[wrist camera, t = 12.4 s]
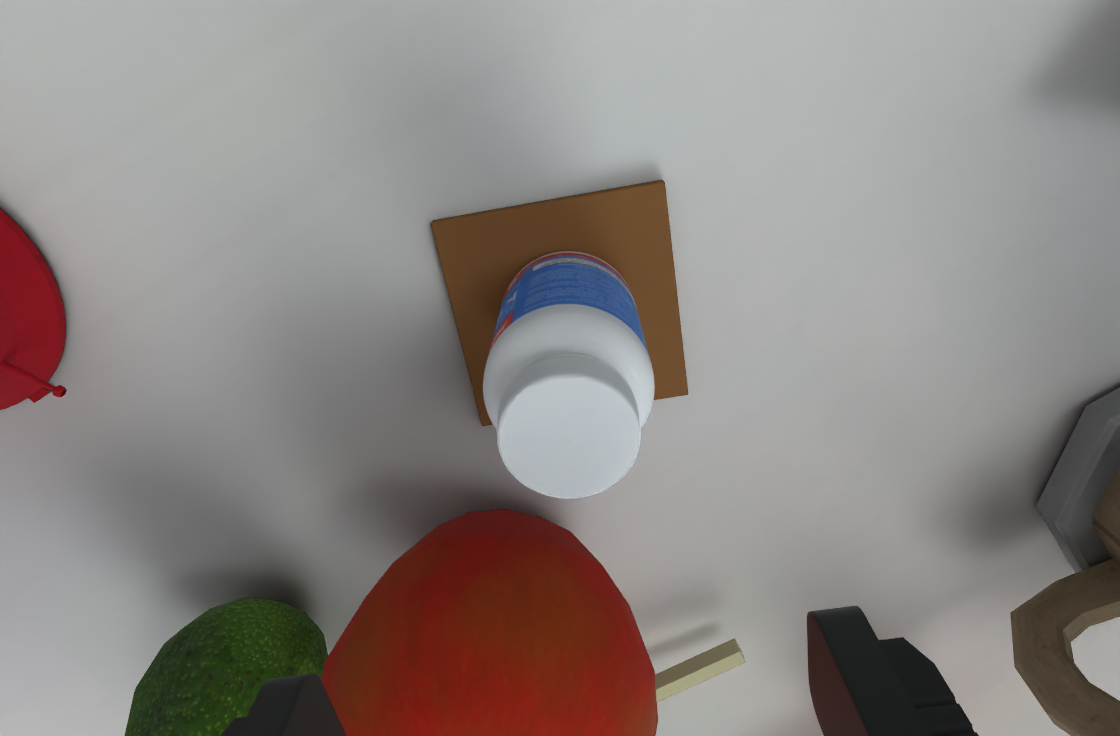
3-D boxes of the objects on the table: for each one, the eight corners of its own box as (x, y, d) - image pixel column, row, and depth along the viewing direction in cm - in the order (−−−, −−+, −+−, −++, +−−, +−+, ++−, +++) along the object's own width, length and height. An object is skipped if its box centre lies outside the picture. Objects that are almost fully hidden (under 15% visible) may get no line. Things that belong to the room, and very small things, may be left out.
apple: (619, 429, 30) (660, 707, 17) (648, 631, 35) (696, 967, 22) (349, 466, 31) (192, 755, 18) (414, 658, 35) (327, 996, 23)
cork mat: (432, 220, 26) (430, 223, 26) (663, 179, 26) (664, 181, 25) (483, 421, 30) (481, 426, 29) (686, 390, 29) (688, 395, 29)
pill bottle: (495, 251, 26) (459, 347, 17) (634, 245, 26) (670, 338, 17) (506, 378, 28) (479, 522, 20) (634, 373, 28) (666, 515, 19)
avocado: (374, 664, 36) (290, 930, 25) (234, 682, 36) (91, 950, 25) (326, 544, 32) (204, 788, 21) (173, 567, 33) (-21, 815, 22)
